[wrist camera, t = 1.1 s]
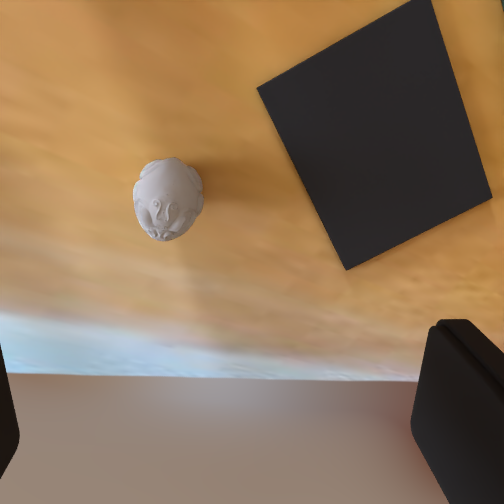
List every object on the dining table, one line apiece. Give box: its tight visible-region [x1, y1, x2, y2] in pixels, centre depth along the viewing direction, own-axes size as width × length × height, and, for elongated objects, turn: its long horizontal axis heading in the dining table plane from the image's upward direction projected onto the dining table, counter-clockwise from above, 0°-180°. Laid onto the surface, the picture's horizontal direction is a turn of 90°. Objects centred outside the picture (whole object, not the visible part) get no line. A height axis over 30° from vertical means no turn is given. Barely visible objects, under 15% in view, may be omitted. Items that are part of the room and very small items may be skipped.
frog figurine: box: [133, 157, 204, 241], centre depth 37 cm, size 6×7×7 cm
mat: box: [257, 0, 492, 270], centre depth 40 cm, size 20×16×1 cm
